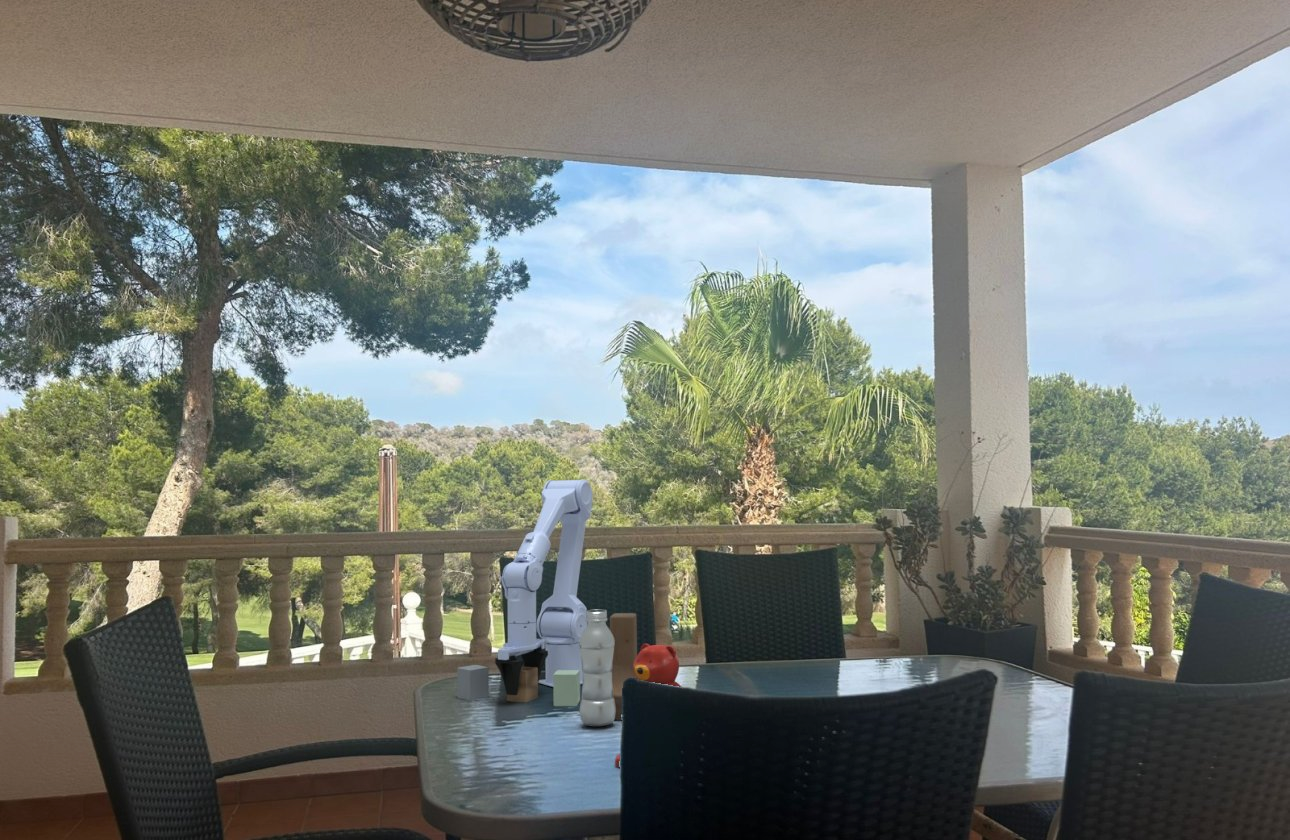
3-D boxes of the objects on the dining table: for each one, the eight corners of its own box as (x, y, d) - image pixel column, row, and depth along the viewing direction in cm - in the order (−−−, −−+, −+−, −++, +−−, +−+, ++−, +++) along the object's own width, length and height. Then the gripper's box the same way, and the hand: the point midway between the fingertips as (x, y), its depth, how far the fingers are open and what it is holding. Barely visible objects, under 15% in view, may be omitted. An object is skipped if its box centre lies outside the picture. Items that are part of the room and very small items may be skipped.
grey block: (475, 694, 192) (475, 664, 193) (488, 697, 189) (488, 667, 190) (457, 697, 189) (457, 667, 190) (470, 701, 186) (470, 670, 187)
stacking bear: (608, 765, 140) (607, 645, 141) (656, 751, 147) (654, 637, 148) (660, 780, 132) (658, 653, 134) (707, 765, 139) (705, 644, 141)
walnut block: (518, 696, 190) (518, 666, 190) (537, 697, 188) (537, 667, 188) (506, 700, 186) (506, 670, 186) (526, 702, 184) (525, 671, 184)
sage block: (557, 701, 185) (557, 670, 185) (580, 701, 185) (579, 670, 185) (553, 706, 180) (553, 674, 181) (576, 706, 180) (576, 674, 181)
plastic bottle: (618, 721, 167) (617, 608, 169) (613, 730, 161) (612, 613, 162) (583, 721, 168) (581, 608, 170) (576, 730, 161) (575, 613, 163)
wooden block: (631, 721, 167) (630, 619, 169) (606, 720, 168) (605, 619, 169) (638, 709, 176) (636, 612, 178) (614, 709, 177) (613, 612, 178)
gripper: (524, 616, 196) (524, 682, 195) (484, 626, 183) (484, 696, 182) (553, 618, 193) (553, 684, 192) (515, 627, 180) (515, 699, 179)
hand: (522, 690), depth 187 cm, fingers open, 7 cm apart
